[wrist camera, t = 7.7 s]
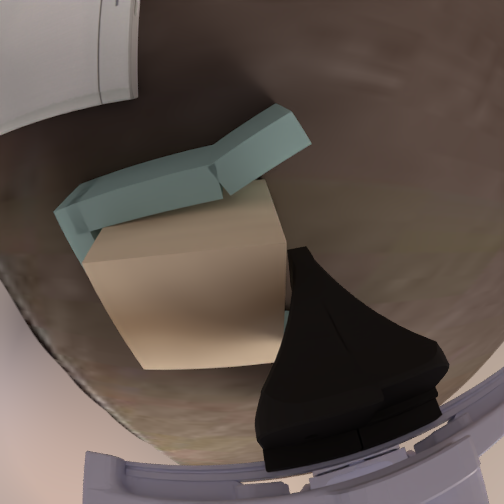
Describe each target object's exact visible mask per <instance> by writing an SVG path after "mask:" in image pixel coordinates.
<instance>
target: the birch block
mask: <svg viewBox="0 0 504 504" xmlns="http://www.w3.org/2000/svg"><path fill="white" fill-rule="evenodd" d="M286 254H287V242H286V239H285V236H284V233H283V230H282V227H281V224H280V221H279V218H278V215H277V212H276V209H275V207H274V204H273V201H272V198H271V195H270V192H269V189H268V187H267V184H266V181H265V179H263V180H253V181H252V182H250V183H249V184H247V185H246V186H244V187H243V188H241V189H240V190H238V191H237V192H235V193H234V194H232V195H231V196H230V194H229V193H228V192H227V191H226V190H225V188H224V187H223V199H220V200H215V201H210V202H205V203H201V204H196V205H192V206H187V207H183V208H178V209H174V210H170V211H166V212H162V213H157V214H153V215H149V216H145V217H141V218H137V219H134V220H130V221H126V222H122V223H118V224H115V225H111V226H108V227H104V228H102V230H101V232H100V233H99V235H98V236H97V238H96V240H95V241H94V243H93V245H92V246H91V248H90V250H89V251H88V253H87V255H86V257H85V258H84V260H83V262H82V265H83V267H84V269H85V271H86V273H87V275H88V277H89V279H90V281H91V283H92V285H93V287H94V289H95V291H96V293H97V295H98V297H99V298H100V300H101V302H102V304H103V306H104V307H105V309H106V311H107V313H108V314H109V316H110V318H111V319H112V321H113V323H114V324H115V326H116V328H117V329H118V331H119V333H120V334H121V336H122V337H123V339H124V340H125V342H126V343H127V345H128V347H129V348H130V350H131V351H132V353H133V354H134V356H135V357H136V358H137V360H138V361H139V363H140V364H141V366H142V367H143V368H144V369H148V370H172V369H204V368H221V367H234V366H246V365H256V364H265V363H273V362H274V361H275V359H276V356H277V353H278V351H279V348H280V345H281V342H282V339H283V335H284V314H285V289H286Z"/></svg>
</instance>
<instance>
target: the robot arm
mask: <svg viewBox="0 0 504 504" xmlns="http://www.w3.org/2000/svg"><path fill="white" fill-rule="evenodd" d="M288 261H289V271H290V282H291V289H292V296H291V304H290V310H289V315H288V320H287V324H286V328H285V332H284V335H283V339H282V342H281V345H280V348H279V351H278V353H277V356H276V359H275V361H274V364H273V367H272V369H271V371H270V373H269V375H268V378H267V380H266V382H265V384H264V386H263V388H262V391H261V396H260V399H259V403H258V407H257V412H256V417H255V431H256V438H257V442H258V443H259V444H260V446H261V447H262V448H263V454H264V461H260V462H251V463H241V464H227V465H200V466H188V465H161V464H147V463H138V462H129V461H124V460H123V459H121V458H119V457H116V456H112V455H107V454H101V453H96V452H90V451H87V452H86V456H85V466H84V480H83V481H84V482H83V504H489V501H488V496H487V493H486V489H485V484H484V480H483V476H482V473H481V470H480V460H479V457H480V456H481V455H482V454H484V453H485V452H486V451H487V450H488V449H490V448H491V447H492V446H493V445H494V444H495V443H496V442H497V441H499V439H501V438H502V437H503V436H504V367H503V368H501V369H500V370H499V371H497V372H496V373H494V374H493V375H491V376H490V377H489V378H487V379H486V380H484V381H483V382H481V383H480V384H478V385H476V386H475V387H473V388H472V389H470V390H468V391H467V392H465V393H463V394H461V395H460V396H458V397H456V398H455V399H453V400H451V401H449V402H447V403H445V404H443V405H442V406H440V407H439V405H438V403H437V400H436V397H437V396H438V392H437V390H436V388H435V386H436V385H437V384H438V383H439V382H440V380H441V379H442V378H443V377H444V376H445V374H446V373H447V371H448V369H449V363H448V361H447V359H446V357H445V355H444V353H443V351H442V349H441V348H440V347H439V345H438V344H437V342H436V341H433V340H431V339H428V338H426V337H424V336H421V335H419V334H416V333H414V332H412V331H409V330H407V329H405V328H403V327H401V326H399V325H397V324H396V323H394V322H392V321H390V320H389V319H387V318H385V317H383V316H382V315H380V314H378V313H377V312H375V311H374V310H372V309H371V308H369V307H368V306H366V305H365V304H364V303H362V302H361V301H359V300H358V299H357V298H355V297H354V296H353V295H352V294H350V293H349V292H348V291H347V290H346V289H344V288H343V287H342V286H341V285H340V284H339V283H338V282H336V281H335V280H334V279H333V278H332V277H331V276H330V275H329V274H328V273H327V272H326V271H325V270H324V269H323V268H322V267H321V266H320V265H319V264H318V263H317V262H316V261H315V260H314V258H313V256H312V254H311V253H310V251H309V250H308V248H307V247H306V246H305V247H300V248H295V249H290V250H288ZM448 420H449V421H448ZM446 421H448V423H447V424H446V425H445V426H443V427H442V428H440V429H438V430H436V431H434V432H433V433H432V434H431V435H429V436H428V437H426V438H425V439H423V440H422V441H420V442H418V443H417V444H415V445H414V449H415V452H414V451H412V450H409V451H407V452H406V450H405V447H403V448H401V449H399V448H400V447H399V444H401V443H403V442H405V441H408V440H410V439H412V438H414V437H416V436H418V435H421V434H422V433H425V432H427V431H429V430H431V429H433V428H435V427H437V426H439V425H440V424H442V423H444V422H446ZM308 472H313V478H309V482H310V484H306V485H305V486H304V487H303V489H302V490H301V491H300V492H297V493H292V494H290V492H289V487H288V485H287V484H284V483H283V482H271V483H258V484H245V485H244V484H242V483H240V482H246V481H256V480H265V479H273V478H280V477H286V476H292V475H298V474H303V473H308Z"/></svg>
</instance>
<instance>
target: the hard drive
mask: <svg viewBox="0 0 504 504" xmlns="http://www.w3.org/2000/svg"><path fill="white" fill-rule="evenodd" d="M139 9H140V0H0V135H2V134H5V133H7V132H10V131H12V130H15V129H18V128H20V127H23V126H26V125H29V124H32V123H35V122H38V121H41V120H44V119H47V118H51V117H54V116H57V115H61V114H65V113H69V112H72V111H76V110H81V109H85V108H89V107H93V106H98V105H102V104H107V103H113V102H118V101H124V100H131V99H135V98H138V62H137V59H138V23H139Z"/></svg>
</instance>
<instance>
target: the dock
mask: <svg viewBox="0 0 504 504" xmlns="http://www.w3.org/2000/svg"><path fill="white" fill-rule="evenodd" d="M311 144H312V143H311V142H310V140H309V138H308V137H307V135H306V133H305V132H304V130H303V129H302V127H301V125H300V124H299V122H298V121H297V119H296V117H295V116H294V114H293V113H292V111H290V110H288V109H286V108H284V107H282V106H280V105H278V104H276V103H275V104H274V105H272V106H270V107H269V108H267V109H265V110H264V111H262V112H261V113H259V114H258V115H256V116H254V117H253V118H251V119H250V120H248V121H247V122H245V123H244V124H242V125H241V126H239V127H238V128H236V129H235V130H233V131H232V132H230V133H229V134H228V135H226V136H225V137H223V138H222V139H220V140H219V141H218V142H216V143H215V144H213V145H210V146H205V147H201V148H196V149H192V150H188V151H184V152H180V153H176V154H172V155H169V156H165V157H161V158H158V159H154V160H151V161H147V162H144V163H140V164H137V165H134V166H131V167H128V168H124V169H121V170H118V171H115V172H112V173H110V174H107V175H104V176H101V177H98V178H95V179H93V180H90V181H87V182H85V183H82V184H80V185H79V186H78V187H77V188H76V189H75V190H74V191H73V192H72V193H71V194H70V195H69V196H68V197H67V198H66V199H65V200H64V201H63V202H62V203H61V204H60V205H59V206H58V207H57V208H56V210H55V211H54V214H55V216H56V218H57V220H58V222H59V224H60V226H61V228H62V230H63V232H64V234H65V236H66V238H67V240H68V242H69V244H70V246H71V247H72V249H73V251H74V253H75V255H76V256H77V258H78V260H79V262H80V263H81V265H82V262H83V260H84V258H85V257H86V255H87V253H88V251H89V250H90V248H91V246H92V245H93V243H94V241H95V240H96V238H97V236H98V235H99V233H100V232H101V230H102V228H104V227H108V226H111V225H115V224H118V223H122V222H126V221H130V220H134V219H137V218H141V217H145V216H149V215H153V214H157V213H162V212H166V211H170V210H174V209H178V208H183V207H187V206H192V205H196V204H201V203H205V202H210V201H215V200H220V199H223V187H224V188H225V190H226V191H227V192H228V193H229V194H230V196H231V195H232V194H234V193H235V192H237V191H238V190H240V189H241V188H243V187H244V186H246V185H247V184H249V183H250V182H252V181H253V180H255V179H256V178H258V177H260V176H261V175H263V174H264V173H266V172H267V171H269V170H270V169H272V168H273V167H275V166H277V165H278V164H280V163H281V162H283V161H285V160H286V159H288V158H289V157H291V156H293V155H294V154H296V153H297V152H299V151H301V150H302V149H304V148H306V147H307V146H309V145H311ZM82 267H83V265H82ZM83 268H84V267H83ZM84 270H85V269H84ZM85 272H86V271H85ZM288 315H289V311H285V314H284V332H285V328H286V324H287V320H288Z"/></svg>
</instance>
